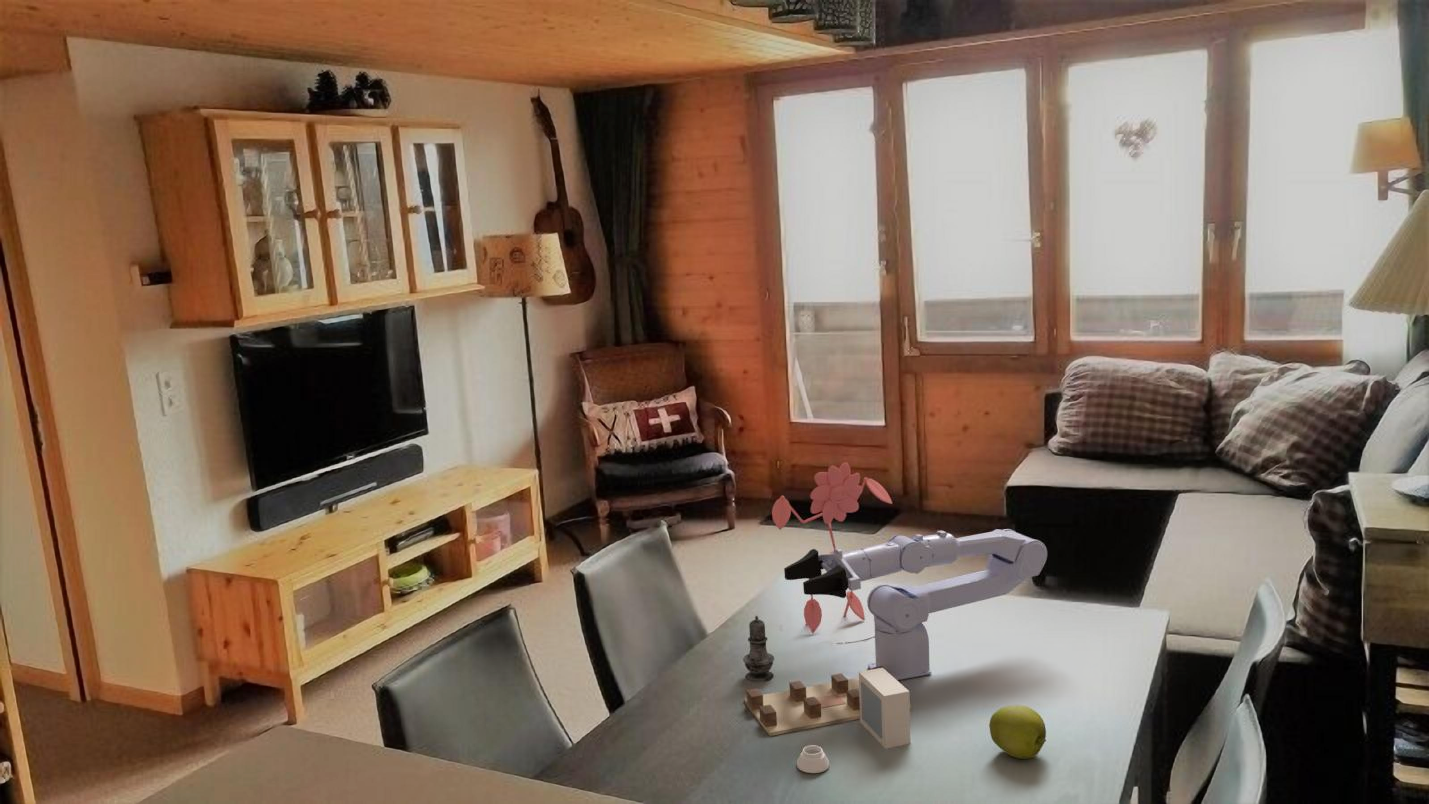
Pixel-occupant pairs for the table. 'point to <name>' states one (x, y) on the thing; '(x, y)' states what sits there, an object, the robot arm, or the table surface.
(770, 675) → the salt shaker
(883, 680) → the tall beige pillar block
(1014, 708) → the apple
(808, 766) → the lidless jar
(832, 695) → the notch rack
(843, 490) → the pink flower cutout
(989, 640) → the table surface
